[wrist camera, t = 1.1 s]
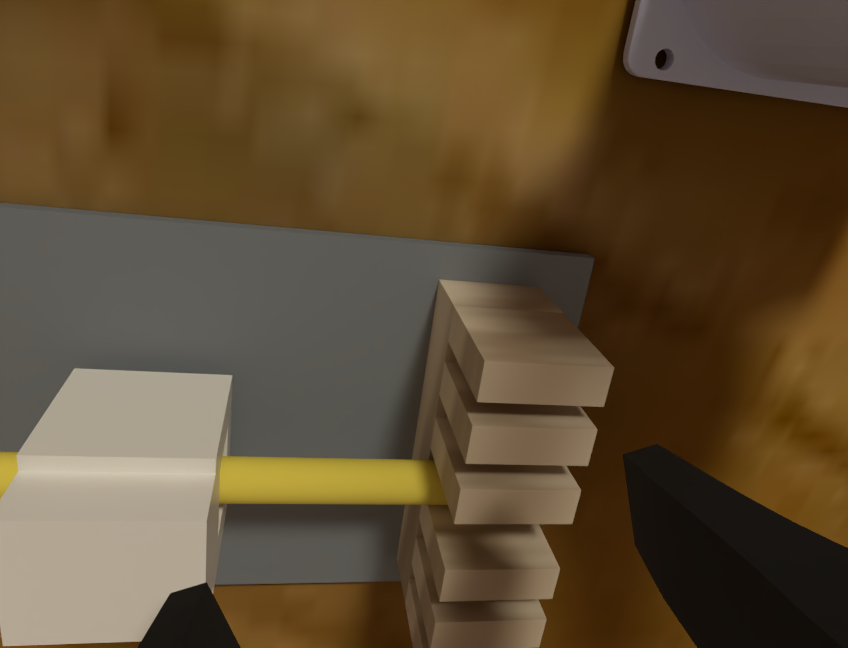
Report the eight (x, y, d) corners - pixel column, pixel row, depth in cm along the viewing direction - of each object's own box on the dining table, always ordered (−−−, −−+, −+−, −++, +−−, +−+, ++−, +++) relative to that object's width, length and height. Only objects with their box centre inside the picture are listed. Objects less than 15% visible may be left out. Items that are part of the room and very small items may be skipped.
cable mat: (589, 253, 20) (594, 258, 20) (514, 571, 24) (517, 579, 24) (-581, 151, 14) (-605, 155, 14) (-402, 585, 19) (-415, 596, 19)
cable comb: (539, 287, 20) (614, 367, 15) (481, 557, 23) (527, 689, 19) (439, 279, 19) (484, 361, 14) (396, 558, 23) (421, 695, 18)
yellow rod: (481, 452, 19) (492, 477, 18) (474, 487, 20) (484, 514, 19) (-461, 431, 15) (-521, 463, 14) (-442, 477, 15) (-499, 511, 14)
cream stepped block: (232, 375, 19) (207, 505, 13) (228, 495, 20) (204, 652, 15) (74, 368, 18) (-17, 504, 13) (82, 494, 19) (4, 659, 14)
